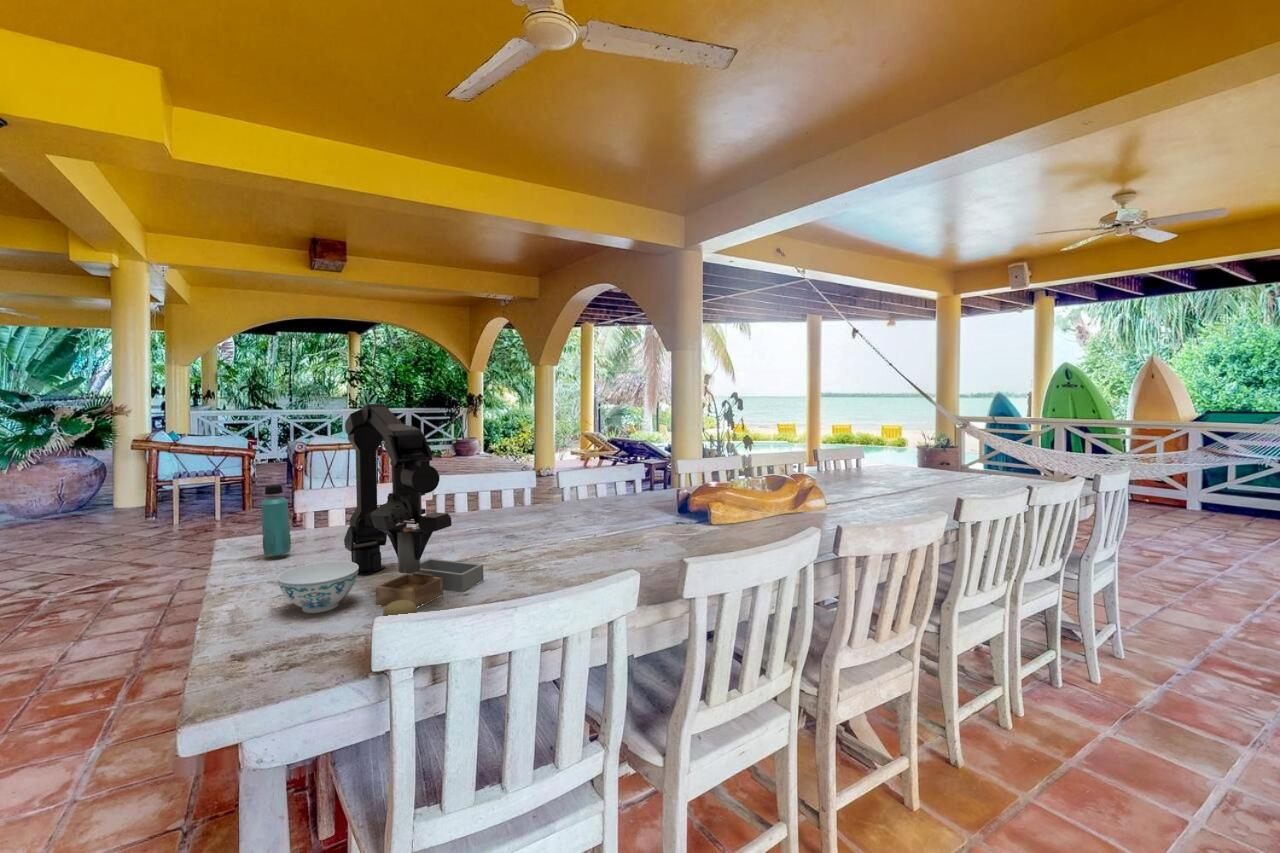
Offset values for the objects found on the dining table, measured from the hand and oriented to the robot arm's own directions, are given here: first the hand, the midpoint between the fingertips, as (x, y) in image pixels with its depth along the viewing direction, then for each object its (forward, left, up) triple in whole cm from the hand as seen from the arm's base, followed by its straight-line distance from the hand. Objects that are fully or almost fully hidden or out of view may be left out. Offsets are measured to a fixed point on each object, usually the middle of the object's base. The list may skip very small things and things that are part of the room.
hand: (409, 558), depth 126 cm
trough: (0, +12, -9) cm, 15 cm away
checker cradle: (0, 0, -9) cm, 9 cm away
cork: (+20, -25, -10) cm, 33 cm away
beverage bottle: (-57, +14, -10) cm, 60 cm away
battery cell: (0, 0, -3) cm, 3 cm away
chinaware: (-16, -9, -10) cm, 20 cm away
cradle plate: (0, 0, -8) cm, 8 cm away
